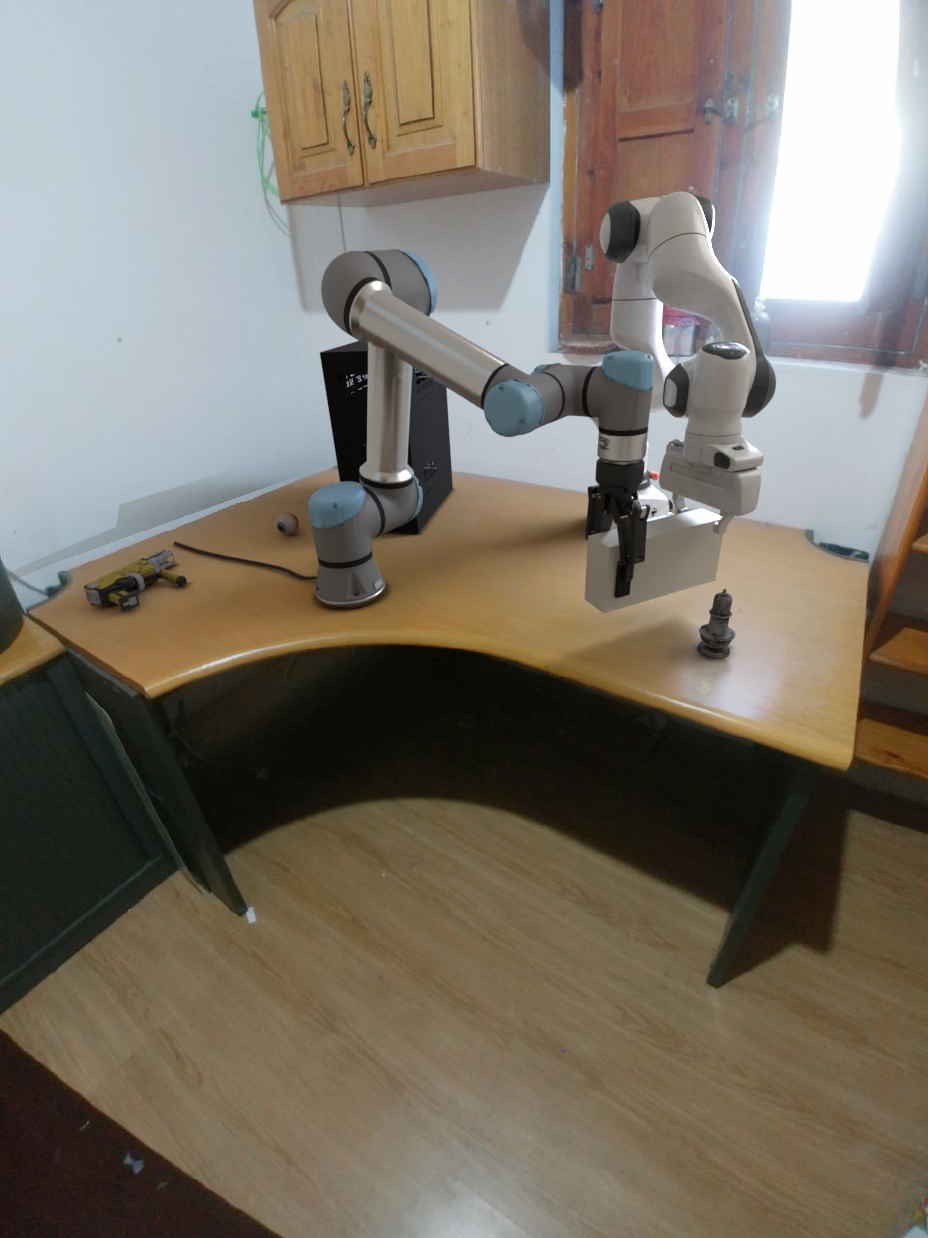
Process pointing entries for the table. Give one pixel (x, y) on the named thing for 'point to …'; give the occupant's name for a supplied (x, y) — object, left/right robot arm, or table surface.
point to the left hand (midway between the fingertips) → (610, 587)
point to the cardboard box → (424, 427)
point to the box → (655, 560)
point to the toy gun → (132, 581)
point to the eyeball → (287, 523)
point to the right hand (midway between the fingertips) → (699, 524)
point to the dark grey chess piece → (717, 628)
